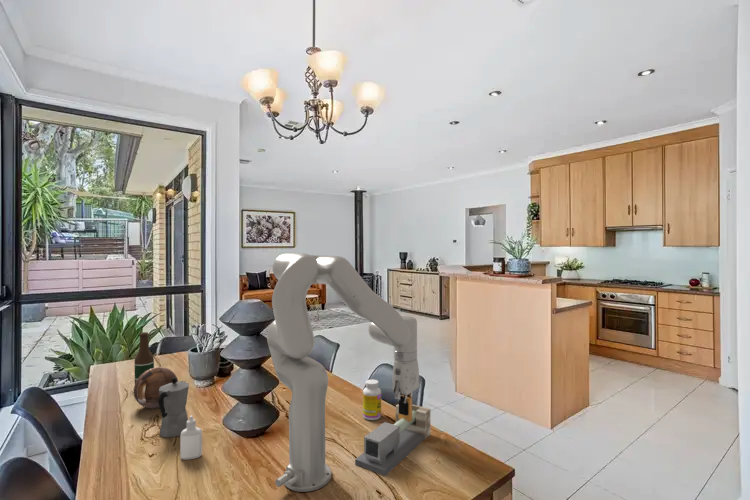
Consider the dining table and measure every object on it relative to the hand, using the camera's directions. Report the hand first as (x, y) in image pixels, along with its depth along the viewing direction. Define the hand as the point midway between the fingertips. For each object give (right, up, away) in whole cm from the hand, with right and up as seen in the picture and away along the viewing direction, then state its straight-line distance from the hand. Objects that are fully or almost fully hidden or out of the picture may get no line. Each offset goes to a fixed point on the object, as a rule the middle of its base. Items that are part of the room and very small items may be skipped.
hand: (405, 412), depth 123 cm
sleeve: (-8, -7, -11) cm, 16 cm away
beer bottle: (-112, -9, +47) cm, 121 cm away
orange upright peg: (-1, -5, -2) cm, 5 cm away
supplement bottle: (-11, -9, +16) cm, 21 cm away
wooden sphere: (-94, -9, +26) cm, 98 cm away
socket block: (+3, -9, +4) cm, 10 cm away
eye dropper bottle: (-64, -9, -10) cm, 65 cm away
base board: (-4, -9, -6) cm, 12 cm away
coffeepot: (-77, -9, +5) cm, 78 cm away
